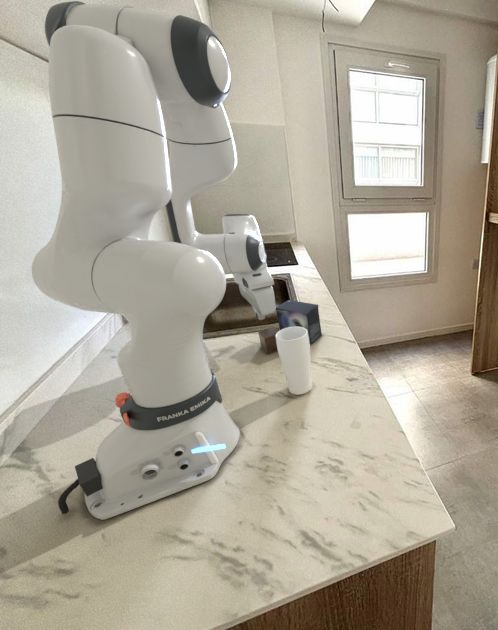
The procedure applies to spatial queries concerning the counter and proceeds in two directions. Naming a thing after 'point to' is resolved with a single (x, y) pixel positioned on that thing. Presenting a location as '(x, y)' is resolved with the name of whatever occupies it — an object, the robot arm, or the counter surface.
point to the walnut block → (268, 339)
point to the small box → (300, 317)
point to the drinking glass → (295, 358)
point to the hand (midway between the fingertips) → (260, 318)
